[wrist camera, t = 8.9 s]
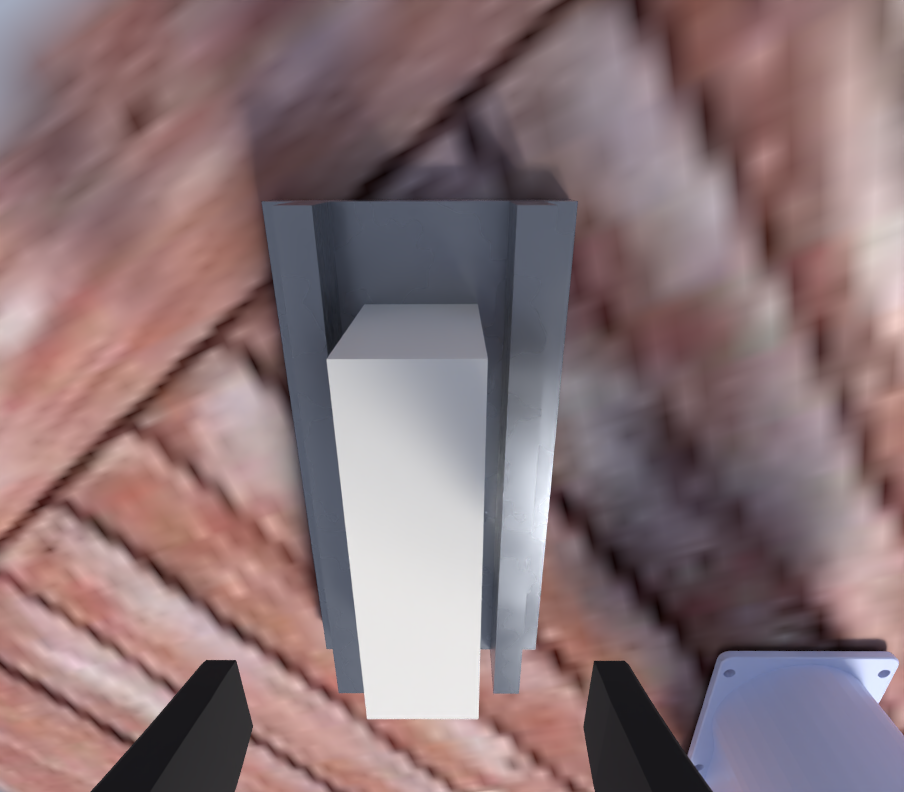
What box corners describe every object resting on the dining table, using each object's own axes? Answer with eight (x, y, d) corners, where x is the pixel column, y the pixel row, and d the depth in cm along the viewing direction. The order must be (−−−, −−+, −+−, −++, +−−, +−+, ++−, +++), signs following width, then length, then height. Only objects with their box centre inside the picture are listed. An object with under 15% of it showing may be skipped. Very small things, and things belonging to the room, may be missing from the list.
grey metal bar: (472, 596, 20) (478, 719, 16) (386, 596, 20) (367, 718, 16) (477, 304, 15) (487, 359, 11) (364, 304, 15) (326, 359, 11)
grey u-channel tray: (531, 630, 22) (542, 693, 20) (331, 629, 22) (314, 693, 20) (570, 199, 15) (596, 205, 12) (273, 199, 15) (233, 205, 12)
